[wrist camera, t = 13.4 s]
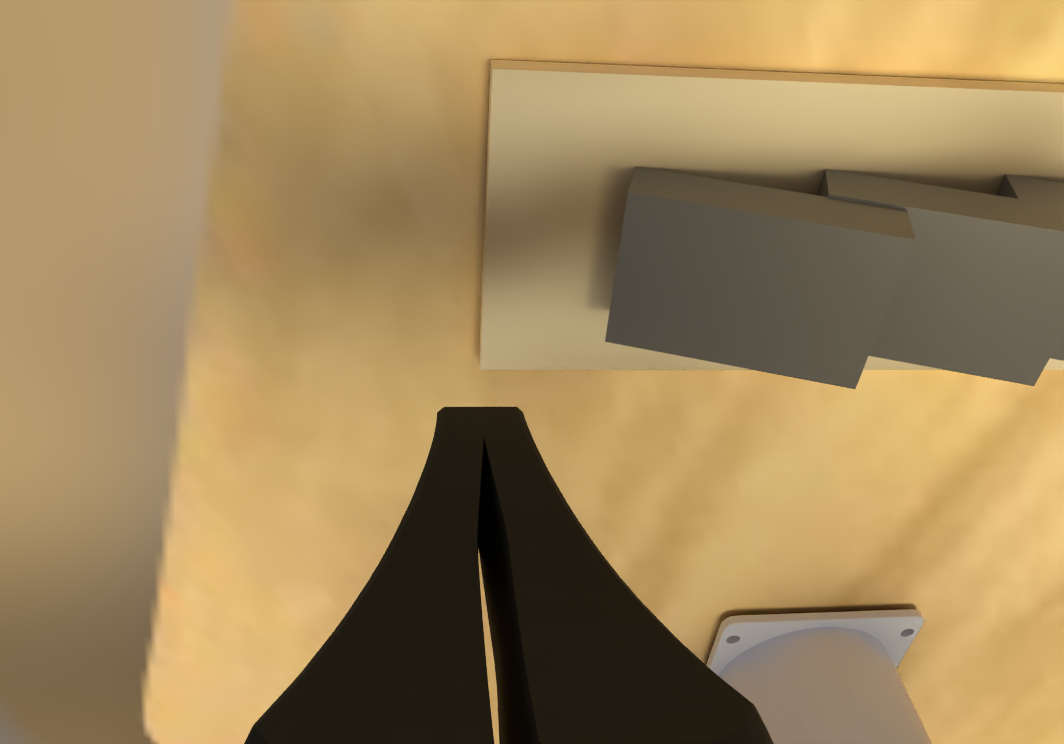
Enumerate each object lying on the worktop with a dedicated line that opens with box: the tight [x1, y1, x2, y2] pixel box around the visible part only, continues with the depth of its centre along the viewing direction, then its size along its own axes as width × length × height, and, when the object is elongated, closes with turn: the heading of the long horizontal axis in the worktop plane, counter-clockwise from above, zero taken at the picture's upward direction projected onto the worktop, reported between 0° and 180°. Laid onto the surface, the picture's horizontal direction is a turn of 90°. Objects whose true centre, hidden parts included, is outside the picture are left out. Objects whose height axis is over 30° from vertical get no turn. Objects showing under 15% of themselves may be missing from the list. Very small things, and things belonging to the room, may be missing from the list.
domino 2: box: [818, 169, 1064, 386], centre depth 20 cm, size 4×1×6 cm
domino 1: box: [605, 166, 915, 389], centre depth 19 cm, size 4×1×6 cm
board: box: [479, 60, 1064, 370], centre depth 22 cm, size 8×28×1 cm, turn 86°
